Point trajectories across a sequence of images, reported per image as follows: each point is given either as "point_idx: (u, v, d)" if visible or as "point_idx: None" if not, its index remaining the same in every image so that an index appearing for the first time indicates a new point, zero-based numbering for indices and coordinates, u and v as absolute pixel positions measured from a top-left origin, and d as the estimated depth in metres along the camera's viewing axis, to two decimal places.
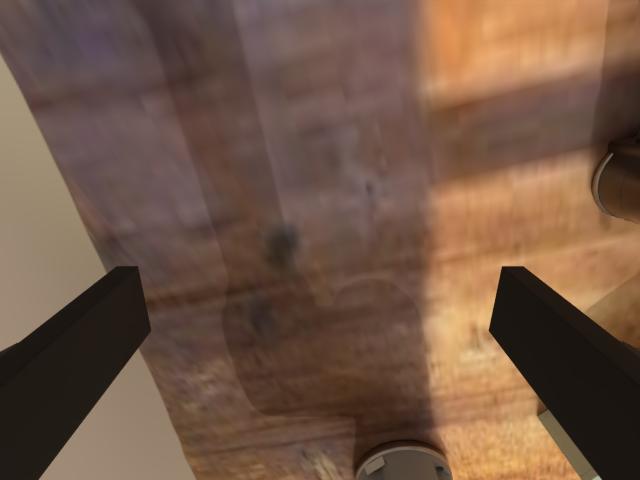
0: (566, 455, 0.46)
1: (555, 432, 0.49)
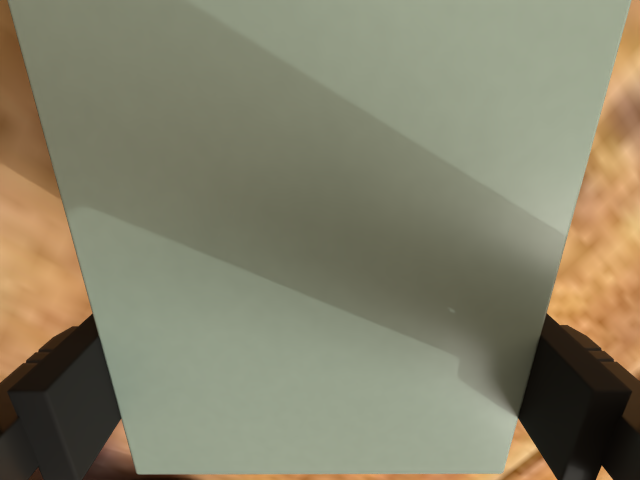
0: None
1: None
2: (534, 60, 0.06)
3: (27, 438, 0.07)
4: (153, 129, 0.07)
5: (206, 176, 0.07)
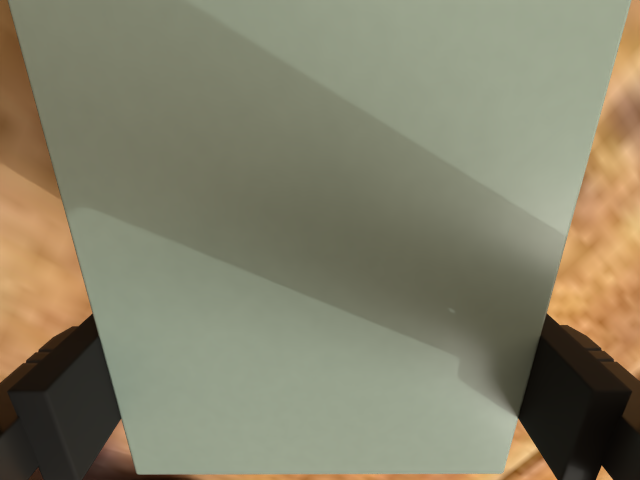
0: None
1: None
2: (534, 60, 0.06)
3: (27, 438, 0.07)
4: (153, 129, 0.07)
5: (206, 176, 0.07)
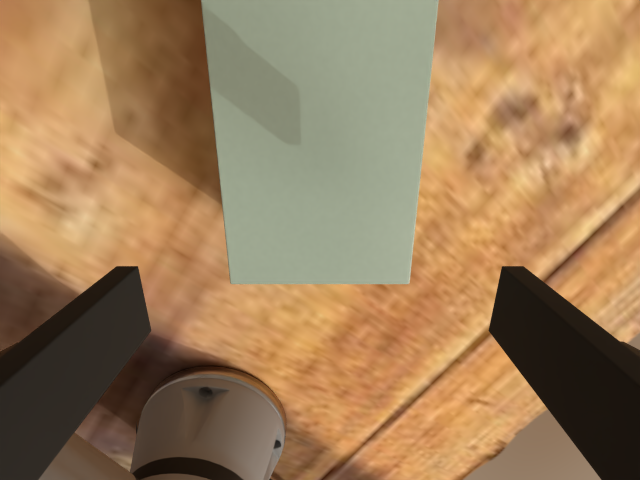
0: None
1: None
2: (399, 87, 0.17)
3: None
4: (255, 113, 0.17)
5: (274, 132, 0.18)
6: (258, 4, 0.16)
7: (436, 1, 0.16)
